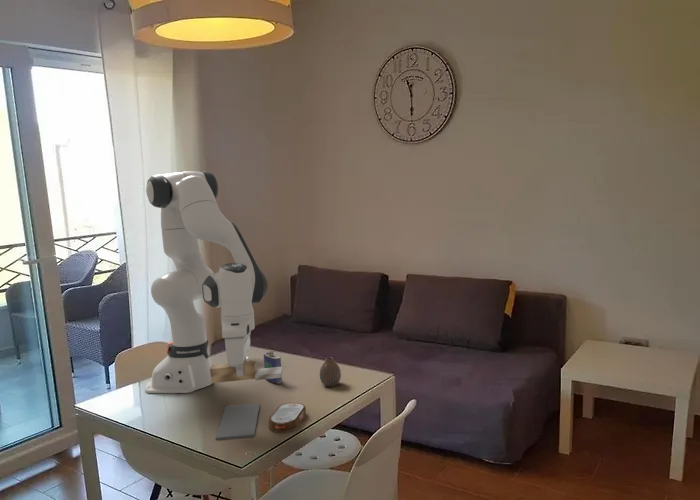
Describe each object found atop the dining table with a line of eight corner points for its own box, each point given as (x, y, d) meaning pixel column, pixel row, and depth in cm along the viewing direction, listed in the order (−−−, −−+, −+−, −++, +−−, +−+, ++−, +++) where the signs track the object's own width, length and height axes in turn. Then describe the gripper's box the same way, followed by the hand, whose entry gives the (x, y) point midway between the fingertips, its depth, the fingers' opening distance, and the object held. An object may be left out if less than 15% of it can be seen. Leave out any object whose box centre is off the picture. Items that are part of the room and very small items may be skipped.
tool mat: (215, 439, 154) (215, 437, 154) (226, 407, 176) (226, 406, 176) (254, 436, 155) (254, 434, 155) (259, 405, 177) (259, 403, 177)
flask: (283, 383, 195) (281, 351, 194) (276, 385, 193) (273, 353, 192) (269, 377, 202) (267, 346, 201) (262, 379, 200) (260, 348, 199)
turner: (210, 384, 159) (209, 370, 158) (214, 377, 165) (213, 363, 164) (281, 377, 159) (279, 363, 159) (282, 370, 165) (281, 356, 165)
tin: (264, 432, 157) (294, 435, 156) (264, 420, 157) (294, 423, 155) (281, 410, 172) (309, 412, 170) (281, 399, 172) (309, 402, 170)
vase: (324, 390, 187) (323, 363, 186) (317, 383, 193) (315, 357, 192) (344, 386, 189) (343, 359, 188) (336, 379, 196) (335, 354, 195)
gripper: (231, 315, 170) (234, 361, 172) (220, 333, 150) (224, 385, 152) (253, 313, 171) (256, 360, 172) (245, 332, 150) (249, 384, 152)
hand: (241, 372), depth 162 cm, fingers closed on turner, 3 cm apart
